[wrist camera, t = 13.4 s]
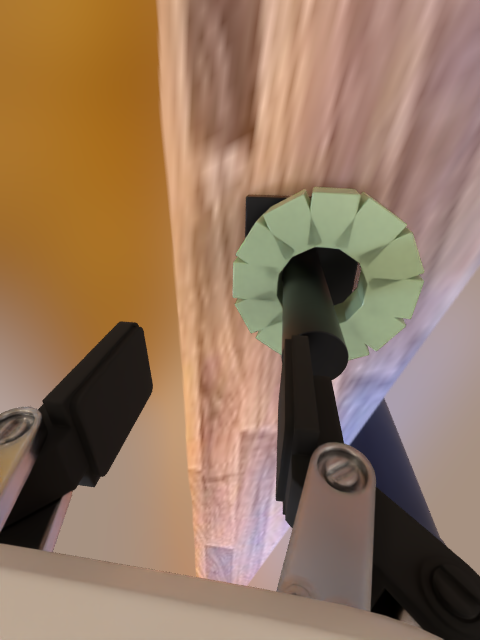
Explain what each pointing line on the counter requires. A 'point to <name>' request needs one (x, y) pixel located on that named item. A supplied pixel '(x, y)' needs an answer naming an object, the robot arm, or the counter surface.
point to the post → (312, 295)
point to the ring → (338, 233)
